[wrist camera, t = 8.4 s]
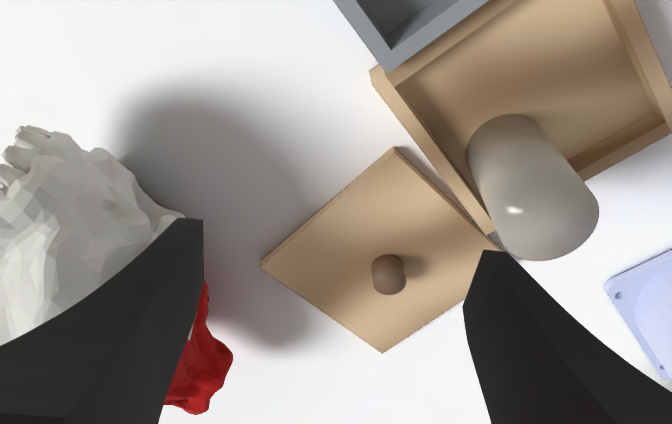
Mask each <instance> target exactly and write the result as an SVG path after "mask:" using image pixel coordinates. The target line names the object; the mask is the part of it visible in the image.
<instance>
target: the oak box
mask: <svg viewBox="0 0 672 424" xmlns="http://www.w3.org/2000/svg"><path fill="white" fill-rule="evenodd" d="M370 76H371V82H372V85H373V87H374V88H375V89H376V91H377V92H378V93H379V95H380V96H381V97H382V99H383V100H384V101H385V103H386V104H387V105H388V107H389V108H390V109H391V111H392V112H393V113H394V115H395V116H396V117H397V119H398V120H399V121H400V123H401V124H402V125H403V127H404V128H405V129H406V130H407V132H408V133H409V134H410V136H411V137H412V138H413V140H414V141H415V142H416V144H417V145H418V146H419V148H420V149H421V150H422V152H423V153H424V154H425V156H426V157H427V158H428V160H429V161H430V162H431V164H432V165H433V166H434V168H435V169H436V170H437V171H438V173H439V174H440V175H441V177H442V178H443V179H444V181H445V182H446V183H447V185H448V186H449V187H450V189H451V190H452V191H453V193H454V194H455V195H456V197H457V198H458V199H459V201H460V202H461V203H462V205H463V206H464V207H465V209H466V210H467V211H468V213H469V214H470V215H471V216H472V218H473V219H474V220H475V222H476V223H477V224H478V226H479V227H480V228H481V230H482V231H483V232H484V234H485V235H486V236H487V235H488V234H490V233H492V232H494V231H496V229H495V226H494V224H493V222H492V220H491V217H490V215H489V213H488V211H487V208H486V206H485V204H484V201H483V199H482V197H481V195H480V192H479V190H478V188H477V186H476V183H475V181H474V179H473V176H472V174H471V172H470V170H469V167H468V165H467V161H466V149H467V145H468V142H469V140H470V138H471V136H472V135H473V133H474V132H475V131H476V130H477V129H478V128H479V127H480V126H481V125H482V124H484V123H485V122H486V121H488V120H490V119H492V118H494V117H497V116H500V115H504V114H521V115H525V116H527V117H529V118H531V119H533V120H534V121H536V122H537V123H538V124H539V125H540V127H541V128H542V129H543V131H544V132H545V133H546V134H547V136H548V137H549V138H550V140H551V141H552V142H553V143H554V145H555V146H556V147H557V149H558V150H559V151H560V152H561V154H562V155H563V156H564V158H565V159H566V160H567V161H568V163H569V164H570V165H571V167H572V168H573V169H574V170H575V172H576V173H577V174H578V176H579V177H580V178H581V179H582V181H583V182H584V181H586V180H588V179H589V178H591V177H593V176H595V175H597V174H599V173H600V172H602V171H604V170H606V169H608V168H609V167H611V166H613V165H615V164H617V163H618V162H620V161H622V160H624V159H626V158H627V157H629V156H631V155H633V154H635V153H636V152H638V151H640V150H642V149H644V148H645V147H647V146H649V145H651V144H653V143H654V142H656V141H658V140H660V139H662V138H663V137H665V136H667V135H669V134H671V133H672V89H671V87H670V84H669V82H668V80H667V77H666V75H665V73H664V70H663V68H662V66H661V63H660V61H659V59H658V56H657V54H656V52H655V49H654V47H653V45H652V42H651V40H650V38H649V35H648V33H647V31H646V28H645V26H644V24H643V21H642V19H641V17H640V14H639V12H638V10H637V7H636V5H635V3H634V0H489V1H487V2H486V3H485V4H483V5H482V6H480V7H479V8H478V9H476V10H475V11H473V12H472V13H471V14H469V15H468V16H467V17H465V18H464V19H462V20H461V21H460V22H458V23H457V24H455V25H454V26H453V27H451V28H450V29H449V30H447V31H446V32H444V33H443V34H442V35H440V36H439V37H437V38H436V39H435V40H433V41H432V42H431V43H429V44H428V45H426V46H425V47H424V48H422V49H421V50H419V51H418V52H417V53H415V54H414V55H413V56H411V57H410V58H408V59H407V60H406V61H404V62H403V63H401V64H400V65H399V66H397V67H396V68H395V69H393V70H392V71H390V72H389V73H388V74H386V72H385V71H384V70H383V68H382V67H381V65H380V64H378V65H377V66H375V67H374V68H373V69H371V70H370Z"/></svg>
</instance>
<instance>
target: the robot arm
mask: <svg viewBox="0 0 672 424" xmlns="http://www.w3.org/2000/svg"><path fill="white" fill-rule="evenodd" d="M203 283H204V263H203V220H197V219H188V218H177V219H176V220H174V221H173V222H172V223H171V224H170V225H169V226H168V227H167V228H166V229H165V230H164V231H163V232H162V233H161V234H160V235H159V236H158V237H157V238H156V239H155V240H154V241H153V242H152V243H151V244H150V245H149V246H147V247H146V248H145V249H144V250H143V251H142V252H141V253H140V254H139V255H137V256H136V257H135V258H134V259H133V260H132V261H131V262H130V263H129V264H127V265H126V266H125V267H124V268H123V269H121V270H120V271H119V272H118V273H116V274H115V275H114V276H113V277H111V278H110V279H109V280H108V281H106V282H105V283H104V284H103V285H101V286H100V287H99V288H97V289H96V290H95V291H93V292H92V293H91V294H89V295H88V296H86V297H85V298H84V299H82V300H81V301H79V302H78V303H76V304H75V305H73V306H72V307H70V308H69V309H67V310H65V311H64V312H62V313H61V314H59V315H57V316H55V317H54V318H52V319H50V320H48V321H46V322H45V323H43V324H41V325H39V326H38V327H36V328H34V329H32V330H30V331H29V332H27V333H25V334H23V335H21V336H19V337H17V338H15V339H13V340H11V341H9V342H7V343H5V344H3V345H1V346H0V424H158V422H159V418H160V415H161V411H162V407H163V404H164V401H165V398H166V395H167V392H168V390H169V387H170V384H171V382H172V379H173V376H174V374H175V371H176V368H177V366H178V363H179V360H180V358H181V355H182V352H183V350H184V347H185V344H186V342H187V339H188V336H189V333H190V331H191V328H192V325H193V323H194V320H195V317H196V313H197V309H198V305H199V301H200V296H201V292H202V287H203ZM603 288H604V290H605V292H606V293H607V295H608V297H609V298H610V300H611V301H612V303H613V304H614V306H615V307H616V309H617V310H618V312H619V314H620V315H621V317H622V318H623V320H624V321H625V323H626V324H627V326H628V328H629V329H630V331H631V332H632V334H633V335H634V337H635V338H636V340H637V341H638V343H639V345H640V346H641V348H642V349H643V351H644V352H645V354H646V355H647V357H648V358H649V360H650V362H651V363H652V365H653V366H654V368H655V369H656V371H657V372H658V374H659V375H660V377H661V378H662V379H663V380H672V250H670V251H668V252H666V253H664V254H662V255H659V256H657V257H655V258H653V259H651V260H649V261H647V262H645V263H643V264H641V265H639V266H637V267H634V268H632V269H630V270H628V271H626V272H624V273H622V274H620V275H618V276H616V277H614V278H612V279H610V280H608V281H607V282H606V283H605V284H604V287H603ZM618 292H619V293H618ZM616 293H618V294H616ZM463 314H464V322H465V329H466V335H467V341H468V345H469V348H470V352H471V355H472V359H473V362H474V366H475V369H476V373H477V376H478V379H479V383H480V386H481V389H482V393H483V396H484V399H485V403H486V406H487V409H488V413H489V416H490V420H491V424H672V392H670V391H669V390H667V389H666V388H664V387H663V386H661V385H660V384H658V383H657V382H655V381H654V380H652V379H651V378H649V377H648V376H646V375H645V374H643V373H642V372H641V371H639V370H638V369H636V368H635V367H633V366H632V365H631V364H629V363H628V362H627V361H625V360H624V359H623V358H621V357H620V356H619V355H618V354H616V353H615V352H614V351H612V350H611V349H610V348H608V347H607V346H606V345H605V344H603V343H602V342H601V341H600V340H599V339H597V338H596V337H595V336H594V335H593V334H591V333H590V332H589V331H588V330H587V329H586V328H585V327H583V326H582V325H581V324H580V323H579V322H578V321H577V320H576V319H574V318H573V317H572V316H571V315H570V314H569V313H568V312H567V311H566V310H565V309H564V308H563V307H562V306H561V305H560V304H559V303H557V302H556V301H555V300H554V299H553V298H552V297H551V296H550V295H549V294H548V293H547V292H546V291H545V290H544V289H543V288H542V287H541V286H540V285H539V284H538V283H537V282H536V281H535V280H534V279H533V278H532V277H531V276H530V274H529V273H528V272H527V271H526V270H525V269H524V268H523V267H522V266H521V265H520V264H519V263H518V262H517V261H516V260H515V259H514V258H512V257H511V256H510V255H509V254H508V253H507V252H504V251H495V250H485V249H483V252H482V254H481V257H480V260H479V263H478V265H477V268H476V271H475V274H474V276H473V279H472V282H471V285H470V287H469V290H468V293H467V296H466V299H465V301H464V304H463Z"/></svg>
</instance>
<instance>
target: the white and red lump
mask: <svg viewBox="0 0 672 424" xmlns="http://www.w3.org/2000/svg"><path fill="white" fill-rule="evenodd" d="M16 132H17V133H18V134H17V135H16V136H15V139H16V142H15V143H14V146H8V147H7V148H6V149H5V151H4V152H3V153H2V154H1V155H2V157H3V158H4V160H5V161H6V164H5V165H4V164H0V346H1V345H3V344H5V343H7V342H9V341H11V340H13V339H15V338H17V337H19V336H21V335H23V334H25V333H27V332H29V331H30V330H32V329H34V328H36V327H38V326H39V325H41V324H43V323H45V322H46V321H48V320H50V319H52V318H54V317H55V316H57V315H59V314H61V313H62V312H64V311H65V310H67V309H69V308H70V307H72V306H73V305H75V304H76V303H78V302H79V301H81V300H82V299H84V298H85V297H86V296H88V295H89V294H91V293H92V292H93V291H95V290H96V289H97V288H99V287H100V286H101V285H103V284H104V283H105V282H106V281H108V280H109V279H110V278H111V277H113V276H114V275H115V274H116V273H118V272H119V271H120V270H121V269H123V268H124V267H125V266H126V265H127V264H129V263H130V262H131V261H132V260H133V259H134V258H135V257H136V256H137V255H139V254H140V253H141V252H142V251H143V250H144V249H145V248H146V247H147V246H149V245H150V244H151V243H152V242H153V241H154V240H155V239H156V238H157V237H158V236H159V235H160V234H161V233H162V232H163V231H164V230H165V229H166V228H167V227H168V226H169V225H170V224H171V223H172V222H173V221H174V220H176V219H177V218H186V217H185V215H183V214H182V213H180V212H177V211H173V210H169V209H166V208H164V207H162V206H160V205H158V204H156V203H155V202H154V201H153V200H152V199H151V198H150V197H149V196H148V195H147V194H146V193H145V192H144V191H143V190H142V189H141V187H140V186H139V184H138V183H137V180H136V178H135V176H134V174H133V173H132V172H131V171H129V170H128V169H126V168H125V167H124V166H123V165H122V164H121V163H120V162H119V161H118V160H116V159H115V158H114V157H113V156H112V155H111V154H110V153H109V152H108V151H106V150H105V149H103V148H94V149H93V150H91V151H90V152H88V151H85V150H82V149H81V148H80V147H79V146H78V145H77V144H76V142H75V141H74V140H73V139H72V138H71V137H70V136H69V135H68V134H65V133H60V132H56V131H55V132H50V133H49V132H48V131H46V130H43V129H41V128H37V127H33V126H29V125H27V126H26V127H24V126H20V127H19V128H18V129H17V130H16ZM208 301H209V297H208V293H207V285H206V283H205V281H204V283H203V287H202V292H201V296H200V301H199V305H198V309H197V313H196V317H195V320H194V323H193V325H192V328H191V331H190V333H189V336H188V339H187V342H186V344H185V347H184V350H183V352H182V355H181V358H180V360H179V363H178V366H177V368H176V371H175V374H174V376H173V379H172V382H171V384H170V387H169V390H168V392H167V395H166V398H165V401H164V404H163V405H174V406H177V407H180V408H182V409H184V410H185V411H186V412H188V413H190V414H194V415H198V414H202V413H203V412H206V411H207V410H208V409H209V403H210V398H211V397H212V396H213V395H214V393H215V392H217V391H218V390H219V389H220V388H222V386H223V384H224V381H225V377H226V375H227V373H228V371H229V369H230V366H231V364H232V361H233V354H232V352H231V351H230V350H229V349H228V348H227V346H226V345H225V344H224V343H222V342H220V341H219V340H217V339H216V338H214V337H213V336H212V335H211V333H210V331H209V330H208V328H207V326H206V324H205V323H206V318H207V314H208V305H207V303H208Z"/></svg>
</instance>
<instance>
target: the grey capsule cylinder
mask: <svg viewBox="0 0 672 424" xmlns="http://www.w3.org/2000/svg"><path fill="white" fill-rule="evenodd" d="M466 161H467V165H468V167H469V170H470V172H471V174H472V176H473V179H474V181H475V183H476V186H477V188H478V190H479V192H480V195H481V197H482V199H483V201H484V204H485V206H486V208H487V211H488V213H489V215H490V217H491V220H492V222H493V224H494V226H495V229H496V231H497V233H498V236H499V238H500V240H501V242H502V244H503V246H504V247H505V248H506V249H507V250H508V251H509V252H510V253H511V254H513V255H514V256H516V257H519V258H521V259H525V260H530V261H546V260H552V259H556V258H559V257H562V256H564V255H566V254H569V253H570V252H572V251H574V250H575V249H577V248H578V247H580V246H581V245H582V244H583V243H584V242H585V241H586V240H587V239H588V238H589V237H590V235H591V234H592V233H593V231H594V229H595V227H596V225H597V222H598V218H599V206H598V202H597V200H596V198H595V196H594V195H593V194H592V192H591V191H590V190H589V188H588V187H587V186H586V185H585V183H584V182H583V181H582V179H581V178H580V177H579V176H578V174H577V173H576V172H575V170H574V169H573V168H572V167H571V165H570V164H569V163H568V161H567V160H566V159H565V158H564V156H563V155H562V154H561V152H560V151H559V150H558V149H557V147H556V146H555V145H554V143H553V142H552V141H551V140H550V138H549V137H548V136H547V134H546V133H545V132H544V131H543V129H542V128H541V127H540V125H539V124H538V123H537V122H536V121H534V120H533V119H531V118H529V117H527V116H525V115H521V114H504V115H500V116H497V117H494V118H492V119H490V120H488V121H486V122H485V123H484V124H482V125H481V126H480V127H479V128H478V129H477V130H476V131H475V132H474V133H473V135H472V136H471V138H470V140H469V142H468V145H467V149H466Z"/></svg>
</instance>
